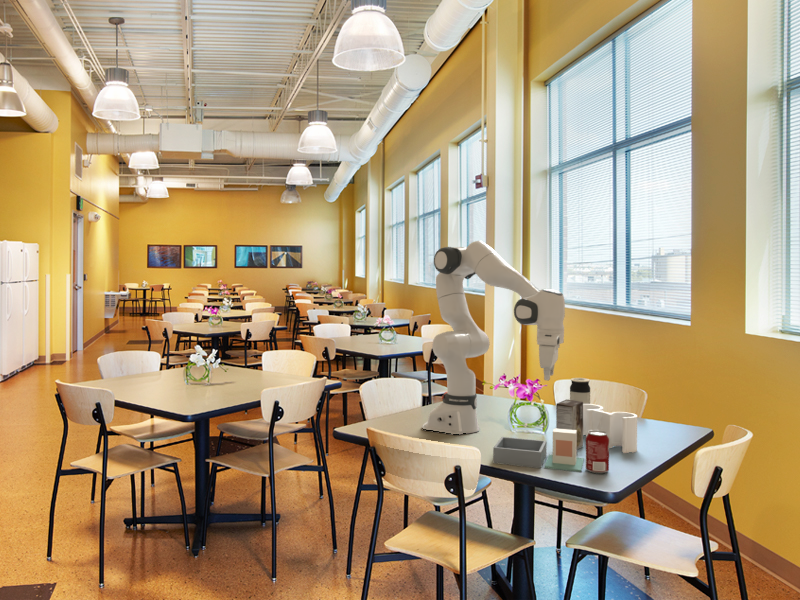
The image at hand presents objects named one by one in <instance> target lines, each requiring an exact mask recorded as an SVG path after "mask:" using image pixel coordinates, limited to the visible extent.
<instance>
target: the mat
mask: <svg viewBox="0 0 800 600" xmlns="http://www.w3.org/2000/svg"><path fill="white" fill-rule="evenodd" d="M584 460H585V458H584V457H578V456H576V465H569V464H559V463H553V454H549V455H548V457H547V459H546V461H545V464H544V469H548V470H549V469H550V470H560V471H566V472H567V471H569V472H570V471H571V472H579V473H582V470H583V466H584V462H585V461H584Z"/></svg>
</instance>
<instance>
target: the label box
mask: <svg viewBox="0 0 800 600" xmlns="http://www.w3.org/2000/svg"><path fill="white" fill-rule="evenodd" d="M577 451H578V450H577V430H569V429H557V428H553V430H552V455H553V463H559V464H569V465H576V457H577Z"/></svg>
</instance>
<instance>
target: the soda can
mask: <svg viewBox="0 0 800 600" xmlns="http://www.w3.org/2000/svg"><path fill="white" fill-rule="evenodd" d="M609 467H610V449H609V438H608V437H607V433H606V432H604V431H599V430H591V431H588V435H587V436H585V470H587V471H588V472H590V473H591V472H592V473H593V474H596V473H597V474H598V475H603V474H605V473H608V472H609V470H610V469H609ZM597 474H596V475H597Z"/></svg>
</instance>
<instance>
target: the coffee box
mask: <svg viewBox="0 0 800 600" xmlns="http://www.w3.org/2000/svg"><path fill="white" fill-rule="evenodd" d="M555 410H556V413H555V414H556V417H555V418H556V420H555V422H556V423H555V424H556V425H555V427H556V428H557V429H569V430H577V451H578V450H579V449H582V448H583V447H584V436H583V402H580V401H575V400H570V399H565V400H562V401H560V402H557V403H556V409H555Z"/></svg>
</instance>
